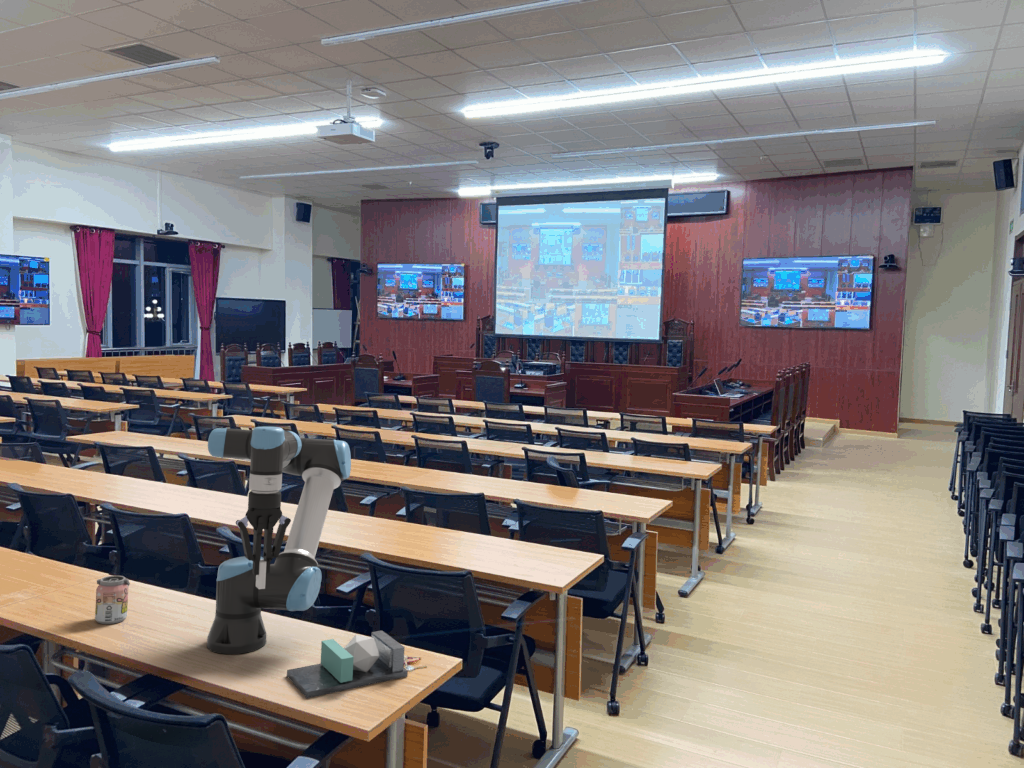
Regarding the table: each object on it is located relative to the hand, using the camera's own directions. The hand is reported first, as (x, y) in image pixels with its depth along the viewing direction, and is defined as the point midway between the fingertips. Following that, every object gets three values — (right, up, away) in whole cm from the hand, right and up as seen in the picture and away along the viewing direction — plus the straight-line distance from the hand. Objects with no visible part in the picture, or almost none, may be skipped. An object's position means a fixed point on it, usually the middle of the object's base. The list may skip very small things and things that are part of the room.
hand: (260, 587), depth 179 cm
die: (+23, -22, +6) cm, 33 cm away
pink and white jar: (-54, -19, +34) cm, 67 cm away
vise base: (+20, -24, +5) cm, 31 cm away
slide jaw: (+18, -22, +3) cm, 28 cm away
